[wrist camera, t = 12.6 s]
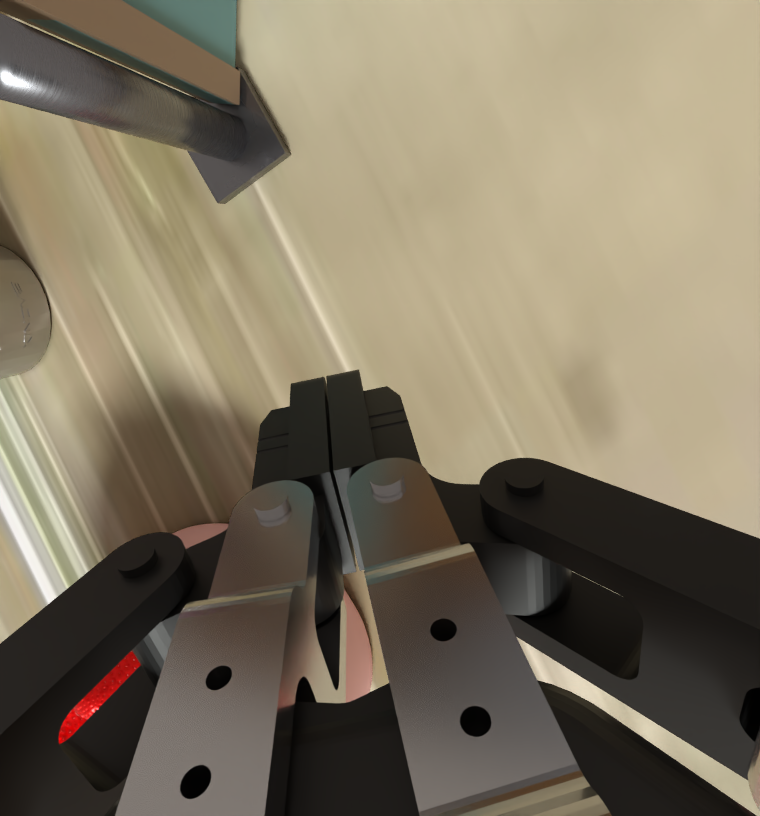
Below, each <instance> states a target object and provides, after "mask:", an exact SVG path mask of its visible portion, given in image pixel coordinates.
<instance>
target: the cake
mask: <svg viewBox="0 0 760 816" xmlns="http://www.w3.org/2000/svg"><path fill="white" fill-rule="evenodd" d="M228 525H229V524H222V523H213V524H202V525H196V526H191V527H188V528H184V529H181V530H179V531H177V532H174V533H172V534H174V535H176V536H178V537H179V538H180V539H181V540H182V542H183V544H184V546H185V548H186V549H187V548H189V547H191V546H193V545H196V544H198V543H200V542H202V541H205V540H207V539H209V538H211V537H214V536H216V535H218V534H220V533H221V532H223V531H225V530H226V529H227V528H228ZM343 598H344V602H345V605H346V611H347V623H346V702H350V701H353V700H355V699H357V698H359V697H361V696H364V695H366V694H368V693H369V691H370V687H371V682H372V654H371V648H370V643H369V639H368V635H367V632H366V629H365V626H364V623H363V621H362V619H361V617H360V614H359V612H358V611H357V609H356V607H355V606H354V604H353V602H352V600H351V599H350V597H349V596H348V594H347V592H346V591H345V589H344V596H343ZM140 665H141V664H140V662H139V661H138V659H137V658H136V656H135V654H134V653H133V651H130V652H129V653H128V654H127V655H126V656H125V657H124V658H123V659H122V660H121V661H120V662H119V663H118V664H117V665H116V666H115V667H114V668H113V669H112V670H111V671H110V672H109V673H108V674H107V675H106V676H105V677H104V678H103V679H102V680H101V681H100V682H99V683H98V684H97V685H96V686H95V687H94V688H93V689H92V690H91V691H90V692H89V693H88V694H87V695H86V696H85V697H84V698H83V699H82V700H81V701H80V702H79V703H78V704H77V705H76V706H75V707H74V708H73V709H72V710H71V711H70V712H69V714H68V715H67V717H66V718H65V720H64V722H63V724H62V726H61V728H60V732H59V744H61V743H63V742H64V741H66V740H67V739H68V738H70V737H71V736H72V735H73V734H74V733H75V732H76V731H77V730H78V729H79V728H80V727H81V726H82V725H83V724H84V723H85V722H86V721H87V720H88V719H89V718H90V717H91V715H92V714H93V713H94V712H95V711H96V710H97V709H98V708H99V707H100V706H101V705H102V704H103V703H104V702H105V701H106V700H107V699H108V698H109V697H110V696H111V695H112V694H113V693H114V692H115V691H116V690H117V689H118V688H119V687H120V686H121V685H122V684H123V683H124V682H125V681H126V680H127V679H128V678H129V677H130V676H131V674H132V673H133V672H134V671H135V670H136V669H137V668H138V667H139V666H140Z"/></svg>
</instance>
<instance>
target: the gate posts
mask: <svg viewBox="0 0 760 816" xmlns="http://www.w3.org/2000/svg"><path fill="white" fill-rule="evenodd" d="M236 69H237V70H239V71H240V103H239V105H233V104H218V103H208V102H206V101H204V100H201V99H199V100H198V99H195V98H193V97H191V96H188V95H186V94H184V93H182V92H179V91H177V90H175V89H172V88H170V87H168V86H166V85H163V84H161V83H159V82H156V81H154V80H152V79H149V78H147V77H145V76H143V75H140V74H138V73H136V72H133V71H131V70H129V69H127V68H124V67H122V66H120V65H117V64H115V63H113V62H111V61H108V60H106V59H104V58H101V57H99V56H97V55H94V54H92V53H90V52H88V51H85V50H83V49H81V48H78V47H76V46H74V45H72V44H69V43H67V42H65V41H62V40H60V39H58V38H55V37H53V36H51V35H49V34H46V33H44V32H42V31H39V30H37V29H35V28H33V27H30V26H28V25H26V24H23V23H21V22H19V21H16V20H14V19H12V18H10V17H7V16H5V15H3V14H0V99H1V100H5V101H8V102H12V103H16V104H19V105H23V106H27V107H30V108H34V109H38V110H41V111H45V112H49V113H52V114H56V115H60V116H63V117H67V118H71V119H74V120H78V121H82V122H85V123H89V124H93V125H96V126H100V127H104V128H107V129H111V130H115V131H118V132H122V133H126V134H129V135H133V136H137V137H140V138H144V139H148V140H151V141H155V142H159V143H162V144H166V145H170V146H173V147H177V148H181V149H184V150H187V151H188V153H189V155H190V156H191V158H192V160H193V161H194V163H195V165H196V167H197V168H198V170H199V172H200V174H201V175H202V177H203V179H204V180H205V182H206V184H207V186H208V187H209V189H210V191H211V193H212V194H213V196H214V198H215V199H216V201H217V203H220V204H225V203H227V202H228V201H229V200H231V199H232V198H233V197H235V196H236V195H237V194H239V193H240V192H241V191H243V190H244V189H246V188H247V187H248V186H250V185H251V184H252V183H254V182H255V181H256V180H258V179H259V178H260V177H262V176H263V175H264V174H266V173H267V172H269V171H270V170H271V169H273V168H274V167H275V166H277V165H278V164H279V163H281V162H282V161H283V160H285V159H286V158H287V157H289V156H290V155H291V154H290V152H289V150H288V148H287V147H286V145H285V143H284V141H283V139H282V138H281V136H280V134H279V132H278V130H277V129H276V127H275V125H274V123H273V121H272V120H271V118H270V116H269V114H268V112H267V111H266V109H265V107H264V105H263V103H262V102H261V100H260V98H259V96H258V94H257V93H256V91H255V89H254V87H253V85H252V84H251V82H250V80H249V78H248V76H247V75H246V73H245V71H244V70H242V69H240V68H239V67H237V68H236Z"/></svg>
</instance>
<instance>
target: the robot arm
mask: <svg viewBox="0 0 760 816" xmlns="http://www.w3.org/2000/svg"><path fill="white" fill-rule="evenodd" d="M50 330H51V321H50V311H49V307H48V303H47V299H46V296H45V294H44V292H43V289H42V287H41V285H40V283H39V281H38V280H37V278H36V276H35V275H34V273H33V272H32V270H31V269H30V268H29V267H28V266H27V265H26V264H25V263H24V261H23V260H22V259H21V258H19V257H18V256H17V255H15V254H14V253H13V252H12V251H10V250H8V249H6V248H4V247H2V246H0V379H3V378H7V377H10V376H14V375H18V374H22V373H24V372H26V371H28V370H30V369H32V368H33V367H34V366H35V365H36V364H37V363H38V362H39V361H40V360H41V358H42V356H43V355H44V353H45V352H46V349H47V346H48V343H49V339H50ZM326 378H327V384H326V381H325V378H324V377H321V378H316V379H311V380H306V381H301V382H297V383H292V384H291V391H290V407H285V408H280V409H275V410H271V412H270V413H269V414H268V415H267V417H266V418H265V419H264V421H263V422H262V423H261V425H260V431H259V438H258V440H259V442H258V446H257V454H256V462H255V469H254V477H253V485H252V491H250V492H249V493H247V494H246V495H245V496H244V497H242V498H241V499H240V500H239V502H238V503H237V504H236V505H235V507H234V509H233V511H232V514H231V517H230V521H229V525H228V528H227V529H226V530H225V531H223V532H221V533H220V534H218V535H216V536H214V537H211V538H209V539H207V540H205V541H202V542H200V543H198V544H196V545H193V546H191V547H189V548H187V549H186V548H185V546H184V544H183V542H182V540H181V539H180V538H179V537H178V536H176V535H174V534H171V533H164V532H159V533H151V534H147V535H143V536H140V537H137V538H135V539H133V540H131V541H129V542H127V543H125V544H123V545H122V546H120V547H118V548H117V549H116V550H114V551H113V552H112V553H111V554H109V555H108V556H107V557H106V558H105V559H103V560H102V561H101V562H100V563H98V564H97V565H96V566H95V567H94V568H92V569H91V570H90V571H89V572H87V573H86V574H85V575H84V576H83V577H81V578H80V579H79V580H78V581H76V582H75V583H74V584H73V585H72V586H70V587H69V588H68V589H67V590H65V591H64V592H63V593H62V594H61V595H59V596H58V597H57V598H56V599H54V600H53V601H52V602H51V603H50V604H48V605H47V606H46V607H45V608H43V609H42V610H41V611H40V612H39V613H37V614H36V615H35V616H34V617H32V618H31V619H30V620H29V621H28V622H26V623H25V624H24V625H23V626H21V627H20V628H19V629H18V630H17V631H15V632H14V633H13V634H12V635H10V636H9V637H8V638H7V639H6V640H4V641H3V642H2V643H1V644H0V816H756V815H755V814H753V813H752V812H750V811H749V810H747V809H746V808H744V807H743V806H742V805H740V804H739V803H737V802H736V801H734V800H733V799H731V798H730V797H728V796H727V795H726V794H724V793H723V792H721V791H720V790H718V789H717V788H715V787H714V786H712V785H711V784H710V783H708V782H707V781H705V780H704V779H702V778H701V777H699V776H698V775H696V774H695V773H694V772H692V771H691V770H689V769H688V768H686V767H685V766H683V765H682V764H680V763H679V762H678V761H676V760H675V759H673V758H672V757H670V756H669V755H667V754H666V753H664V752H663V751H662V750H660V749H659V748H657V747H656V746H654V745H653V744H651V743H650V742H648V741H647V740H646V739H644V738H643V737H641V736H640V735H638V734H637V733H635V732H634V731H632V730H631V729H630V728H628V727H627V726H625V725H624V724H622V723H621V722H619V721H618V720H616V719H615V718H614V717H612V716H611V715H609V714H608V713H606V712H605V711H603V710H602V709H600V708H599V707H597V706H596V705H594V704H592V703H591V702H589V701H587V700H585V699H583V698H581V697H580V696H578V695H576V694H574V693H572V692H570V691H567V690H565V689H562V688H560V687H557V686H555V685H552V684H549V683H545V682H541V681H538V680H537V679H536V677H535V675H534V673H533V671H532V669H531V667H530V665H529V663H528V660H527V658H526V656H525V654H524V652H523V650H522V648H521V646H520V644H519V642H518V640H517V638H516V637H518V638H520V639H521V640H523V641H525V642H526V643H528V644H529V645H531V646H533V647H534V648H536V649H537V650H539V651H541V652H542V653H544V654H545V655H547V656H549V657H550V658H552V659H553V660H555V661H557V662H558V663H560V664H562V665H563V666H565V667H566V668H568V669H570V670H571V671H573V672H574V673H576V674H578V675H579V676H581V677H582V678H584V679H586V680H587V681H589V682H591V683H592V684H594V685H595V686H597V687H599V688H600V689H602V690H603V691H605V692H607V693H608V694H610V695H611V696H613V697H615V698H616V699H618V700H619V701H621V702H623V703H624V704H626V705H628V706H629V707H631V708H632V709H634V710H636V711H637V712H639V713H640V714H642V715H644V716H645V717H647V718H648V719H650V720H652V721H653V722H655V723H656V724H658V725H660V726H661V727H663V728H665V729H666V730H668V731H669V732H671V733H673V734H674V735H676V736H677V737H679V738H681V739H682V740H684V741H685V742H687V743H689V744H690V745H692V746H694V747H695V748H697V749H698V750H700V751H702V752H703V753H705V754H706V755H708V756H710V757H711V758H713V759H714V760H716V761H718V762H719V763H721V764H722V765H724V766H726V767H727V768H729V769H731V770H732V771H734V772H735V773H737V774H739V775H740V776H742V777H743V778H745V779H747V780H748V782H749V787H750V790H751V793H752V796H753V799H754V801H755V803H756V805H757V807H758V809H759V810H760V539H759V538H756V537H754V536H751V535H748V534H745V533H743V532H740V531H737V530H734V529H732V528H729V527H726V526H723V525H721V524H718V523H715V522H712V521H710V520H707V519H704V518H701V517H699V516H696V515H693V514H690V513H688V512H685V511H682V510H679V509H677V508H674V507H671V506H668V505H666V504H663V503H660V502H657V501H655V500H652V499H649V498H646V497H644V496H641V495H638V494H635V493H633V492H630V491H627V490H624V489H622V488H619V487H616V486H613V485H611V484H608V483H605V482H602V481H600V480H597V479H594V478H591V477H589V476H586V475H583V474H580V473H578V472H575V471H572V470H569V469H567V468H564V467H561V466H558V465H556V464H553V463H550V462H547V461H544V460H540V459H534V458H517V459H510V460H506V461H503V462H500V463H498V464H496V465H494V466H492V467H491V468H490V469H488V470H487V471H486V472H485V473H484V475H483V476H482V478H481V480H480V485H478V484H454V483H448V482H445V481H441V480H439V479H437V478H435V477H433V476H431V475H430V474H429V473H428V472H427V470H426V469H425V468H424V467H423V466H422V464H421V462H420V458H419V455H418V452H417V449H416V445H415V442H414V439H413V436H412V433H411V429H410V426H409V423H408V420H407V416H406V413H405V411H404V407H403V404H402V400H401V397H400V395H398V394H397V393H396V392H394V391H393V390H391V389H390V388H389V387H387V386H386V387H381V388H376V389H372V390H367V391H363V387H362V382H361V377H360V372H359V370H354V371H350V372H345V373H340V374H335V375H330V376H327V377H326ZM354 550H355V554H356V558H357V562H358V566H359V569H360V571H361V570H365V571H364V573H365V578H366V582H367V587H368V591H369V595H370V600H371V604H372V609H373V613H374V617H375V622H376V626H377V631H378V635H379V639H380V644H381V648H382V653H383V657H384V661H385V666H386V670H387V674H388V679H389V683H388V684H386V685H384V686H382V687H380V688H378V689H376V690H374V691H372V692H370V693H368V694H366V695H364V696H361V697H359V698H357V699H355V700H353V701H350V702H346V623H347V611H346V605H345V602H344V598H343V596H344V582H343V574H348V573H353V572H356V564H355V555H354ZM572 571H573V572H572ZM574 572H575V573H574ZM576 573H577V574H576ZM578 574H579V575H578ZM580 575H581V576H580ZM582 576H583V577H582ZM584 577H585V578H584ZM586 578H587V579H586ZM588 579H589V580H588ZM590 580H591V581H590ZM592 581H593V582H592ZM594 582H595V583H594ZM596 583H597V584H596ZM598 584H599V585H598ZM600 585H601V586H600ZM602 586H604V587H606V588H608V589H610V590H612V591H614V592H616V593H618V594H619V595H618V594H616V593H614V592H612V591H610V590H608V589H606V588H604V587H602ZM620 595H621V596H620ZM622 596H623V597H622ZM130 651H133V653H134V654H135V656H136V658H137V659H138V661H139V662H140V664H141V665H140V666H139V667H138V668H137V669H136V670H135V671H134V672H133V673H132V674H131V676H130V677H129V678H128V679H127V680H126V681H125V682H124V683H123V684H122V685H121V686H120V687H119V688H118V689H117V690H116V691H115V692H114V693H113V694H112V695H111V696H110V697H109V698H108V699H107V700H106V701H105V702H104V703H103V704H102V705H101V706H100V707H99V708H98V709H97V710H96V711H95V712H94V713H93V714H92V715H91V717H90V718H89V719H88V720H87V721H86V722H85V723H84V724H83V725H82V726H81V727H80V728H79V729H78V730H77V731H76V732H75V733H74V734H73V735H72V736H71V737H70V738H68V739H67V740H66V741H64V742H63V743H61V744H59V732H60V728H61V726H62V724H63V722H64V720H65V718H66V717H67V715H68V714H69V712H70V711H71V710H72V709H73V708H74V707H75V706H76V705H77V704H78V703H79V702H80V701H81V700H82V699H83V698H84V697H85V696H86V695H87V694H88V693H89V692H90V691H91V690H92V689H93V688H94V687H95V686H96V685H97V684H98V683H99V682H100V681H101V680H102V679H103V678H104V677H105V676H106V675H107V674H108V673H109V672H110V671H111V670H112V669H113V668H114V667H115V666H116V665H117V664H118V663H119V662H120V661H121V660H122V659H123V658H124V657H125V656H126V655H127V654H128V653H129V652H130Z"/></svg>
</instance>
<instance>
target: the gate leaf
mask: <svg viewBox="0 0 760 816" xmlns="http://www.w3.org/2000/svg"><path fill="white" fill-rule="evenodd" d="M236 4H237V0H0V11H2V12H4V13H6V14H9V15H11V16H13V17H15V18H18V19H20V20H22V21H24V22H27V23H29V24H31V25H34V26H36V27H38V28H40V29H43V30H45V31H47V32H49V33H52V34H54V35H56V36H59V37H61V38H63V39H65V40H68V41H70V42H72V43H74V44H77V45H79V46H81V47H83V48H86V49H88V50H90V51H93V52H95V53H97V54H99V55H102V56H104V57H106V58H108V59H111V60H113V61H115V62H117V63H120V64H122V65H124V66H127V67H129V68H131V69H133V70H136V71H138V72H140V73H142V74H145V75H147V76H149V77H151V78H154V79H156V80H158V81H161V82H163V83H165V84H167V85H170V86H172V87H174V88H176V89H179V90H181V91H183V92H185V93H188V94H190V95H192V96H195V97H197V98H199V99H201V100H204V101H206V102H208V103H218V104H233V105H239V103H240V71H239V70H237V69H236V68H235V51H236Z"/></svg>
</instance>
